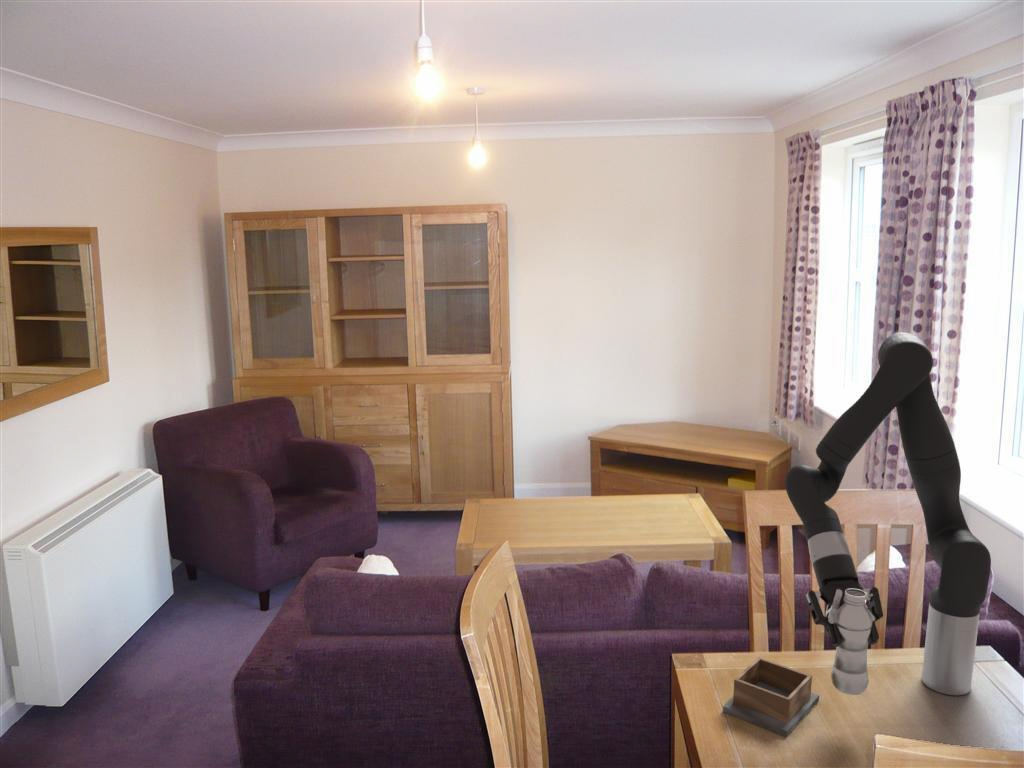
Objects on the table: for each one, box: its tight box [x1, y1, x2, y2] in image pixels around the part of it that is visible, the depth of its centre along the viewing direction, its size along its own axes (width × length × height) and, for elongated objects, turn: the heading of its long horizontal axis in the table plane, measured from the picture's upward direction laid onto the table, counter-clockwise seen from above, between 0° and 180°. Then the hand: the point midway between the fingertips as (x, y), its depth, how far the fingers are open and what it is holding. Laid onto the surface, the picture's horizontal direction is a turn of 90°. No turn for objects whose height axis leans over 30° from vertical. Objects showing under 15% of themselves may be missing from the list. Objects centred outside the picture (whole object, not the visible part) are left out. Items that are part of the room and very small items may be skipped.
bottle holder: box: [722, 656, 820, 738], centre depth 172 cm, size 16×13×6 cm
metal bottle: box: [830, 589, 872, 696], centre depth 163 cm, size 6×7×20 cm
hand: (856, 644), depth 161 cm, fingers closed on metal bottle, 6 cm apart
